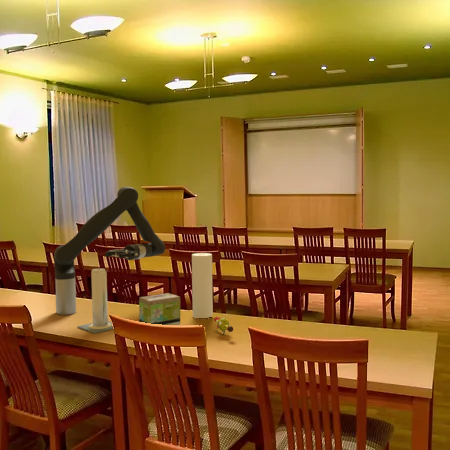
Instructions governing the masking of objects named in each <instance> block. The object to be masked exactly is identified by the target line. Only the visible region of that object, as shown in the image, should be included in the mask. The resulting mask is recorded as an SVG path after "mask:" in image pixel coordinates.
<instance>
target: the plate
mask: <svg viewBox="0 0 450 450" xmlns="http://www.w3.org/2000/svg"><path fill="white" fill-rule="evenodd" d="M111 322H112V321H109V320H108V325H107V326H105V327H93V322H91V323H86V324H82V325H78V326H77V329H80V330H83V331H86V332H89V333H92V334H94V335H95V334H100V333H104V332H108V330H109V331H111V329H113V326H112V323H111ZM113 330H114V329H113Z"/></svg>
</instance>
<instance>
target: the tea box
mask: <svg viewBox="0 0 450 450" xmlns="http://www.w3.org/2000/svg"><path fill="white" fill-rule="evenodd" d="M138 299H139V300H138V303H139V305H138V306H139V307H138V313H139V314H138V317H139V319H138V323H139V322H145V323H151V324H162V325H180V326H181V296H178V295H176V294H172V293H170V292H166V293H160V294H156V295H147V296H140V297H139V298H138Z"/></svg>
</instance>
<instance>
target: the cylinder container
mask: <svg viewBox="0 0 450 450" xmlns="http://www.w3.org/2000/svg"><path fill="white" fill-rule="evenodd" d="M191 281H192V282H191V285H192V286H191V287H192V294H191V295H192V318H193V317H194V319H196V318H208V317H211V316H212V315H214V314H213V313H214V311H213V307H214V306H213V304H214V303H213V254H212V253H209V252H208V253H207V252H200V253H199V252H196V253H192V254H191ZM208 319H209V318H208Z"/></svg>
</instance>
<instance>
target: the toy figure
mask: <svg viewBox="0 0 450 450" xmlns="http://www.w3.org/2000/svg"><path fill="white" fill-rule="evenodd" d="M213 321H214V322H215V323H216V329H218V330H220V331H221V333H222V332H223V334H225V335H226V331H227V332H229V333H232V332H234V327H233V326H231V325H230V324H231V323H230V321H229V320H228V318H226V317H219V316H215V317H214V320H213Z"/></svg>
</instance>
